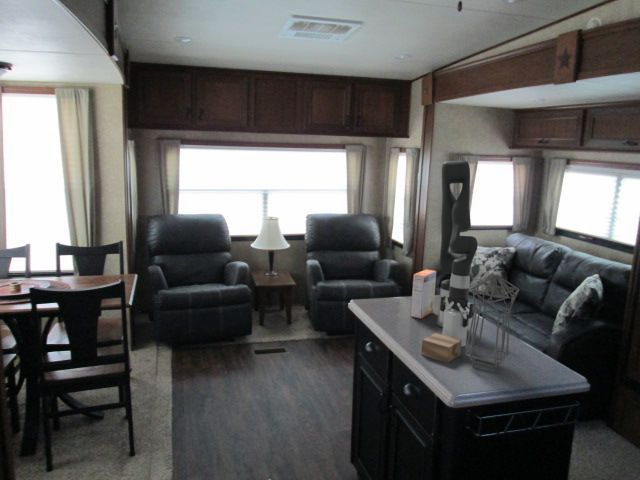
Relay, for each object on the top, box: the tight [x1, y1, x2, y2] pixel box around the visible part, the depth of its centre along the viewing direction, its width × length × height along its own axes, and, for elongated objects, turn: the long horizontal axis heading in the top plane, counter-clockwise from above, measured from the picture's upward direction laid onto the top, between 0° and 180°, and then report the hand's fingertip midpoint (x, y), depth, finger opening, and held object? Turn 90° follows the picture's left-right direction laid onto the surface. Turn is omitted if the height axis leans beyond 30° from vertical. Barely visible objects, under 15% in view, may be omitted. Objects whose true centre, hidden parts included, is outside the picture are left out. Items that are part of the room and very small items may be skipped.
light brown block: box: [420, 332, 462, 364], centre depth 203 cm, size 11×11×6 cm
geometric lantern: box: [464, 273, 520, 372], centre depth 192 cm, size 16×16×35 cm
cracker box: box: [410, 268, 437, 320], centre depth 250 cm, size 14×6×21 cm, turn 144°
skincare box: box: [441, 309, 469, 348], centre depth 213 cm, size 8×6×15 cm
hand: (455, 324), depth 213 cm, fingers closed on skincare box, 7 cm apart
